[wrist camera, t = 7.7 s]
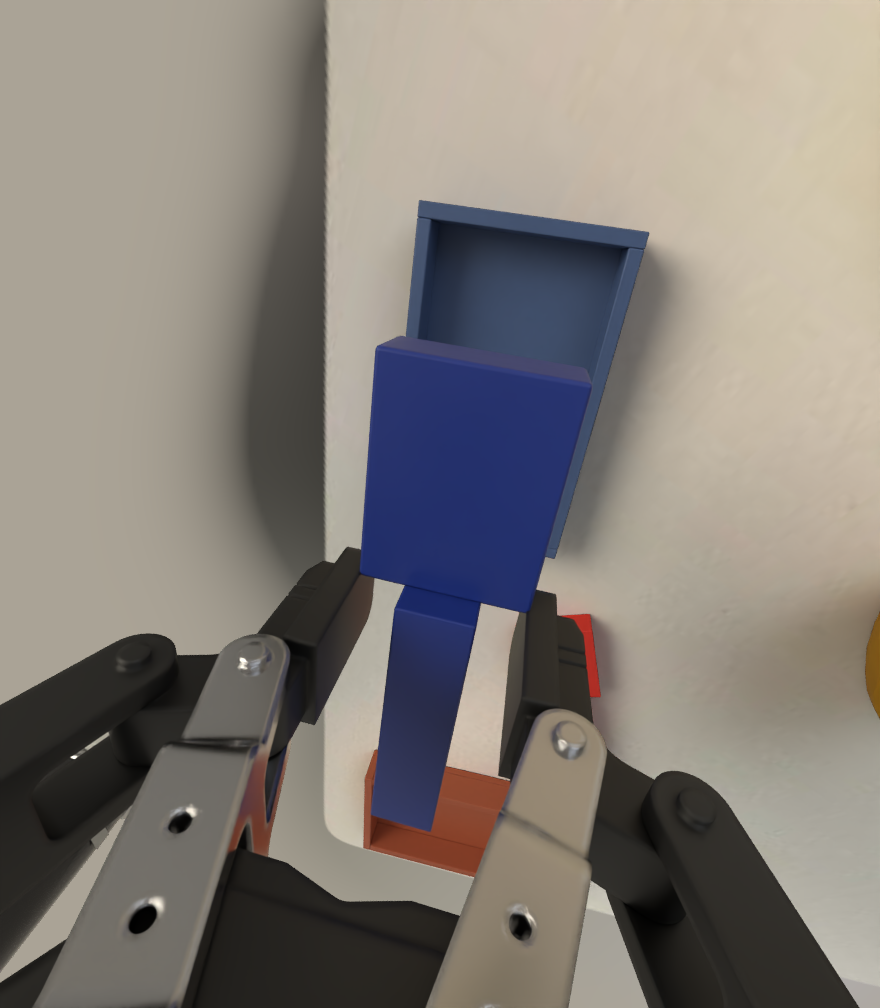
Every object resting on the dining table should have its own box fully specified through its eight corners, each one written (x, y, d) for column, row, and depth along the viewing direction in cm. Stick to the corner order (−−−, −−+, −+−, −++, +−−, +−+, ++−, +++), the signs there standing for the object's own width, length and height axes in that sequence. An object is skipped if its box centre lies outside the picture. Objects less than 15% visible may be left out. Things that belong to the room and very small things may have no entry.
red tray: (372, 818, 43) (363, 848, 41) (374, 749, 39) (364, 778, 37) (545, 862, 41) (545, 896, 39) (567, 794, 37) (568, 827, 35)
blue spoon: (479, 766, 16) (468, 845, 14) (361, 734, 16) (333, 805, 14) (587, 367, 10) (599, 394, 8) (398, 334, 10) (359, 351, 8)
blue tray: (553, 536, 28) (554, 559, 26) (399, 503, 29) (387, 523, 27) (638, 236, 21) (650, 231, 19) (431, 207, 22) (418, 199, 20)
